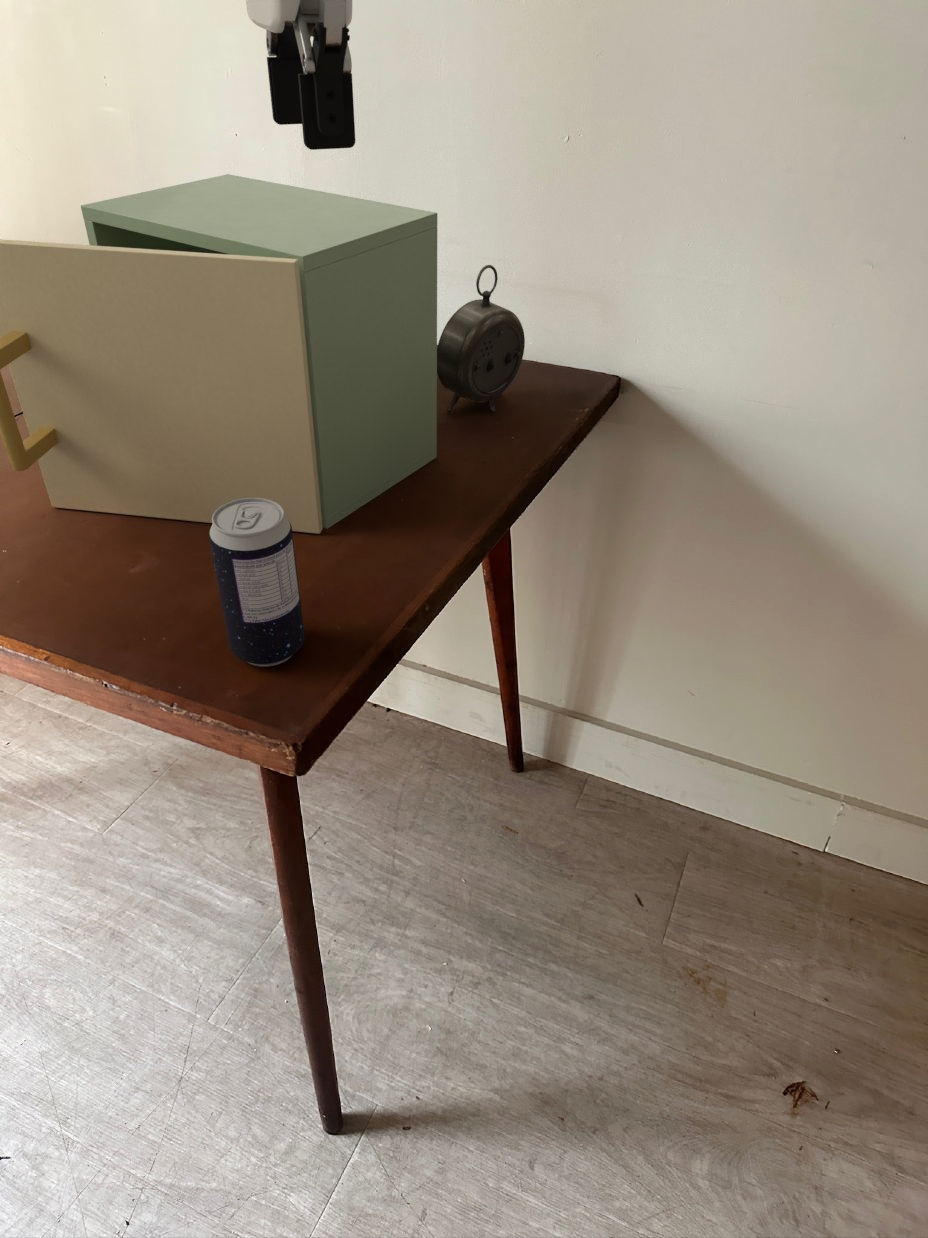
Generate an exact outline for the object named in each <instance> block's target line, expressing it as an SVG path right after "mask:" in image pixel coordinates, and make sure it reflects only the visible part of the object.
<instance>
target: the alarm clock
mask: <svg viewBox="0 0 928 1238" xmlns="http://www.w3.org/2000/svg"><path fill="white" fill-rule="evenodd" d="M487 269H491V270H492V271H493V275H494V282H493V286H492V288H491V289H490V291H489V290H483V292H481V290H480V280H481V277H482V275H483V273H484V271H485V270H487ZM475 283H476V291H477V294H478V295H479V296H481V297H482V298H481V299H480V298H479V299H474V300H471V301H469V302H467V303H465V304H463V305H462V306H461V307H459V308H458V309H457V310H456V311H455V312H454V313H453V314H452V316H451V317H450V318H449V319H448V321H447V322H446V324H445V326H444V328H443V330H442V332H441V335H440V337H439V340H438V342H437V378H438V380H439V382H440V383H441V385H442V386H443V387H444V388H445V390H448V391H449V392H451V393H453V396H452V398H451V401H450V404H449V407H447V408H446V413H448V414H451V413H452V411H453V408H454V407H455V406H456V404H457V403H458V402H459V399H460V398H463V399H465V400H467V401H468V402H472V403H478V404H480V403H481V404H482V403H487V402H488V404H489V408H490V411H492V412H494V413H495V412H496V406H495V399H496V398H497V397H499V396H500V395H502V394H503V392H505V391H506V390H507V389H508V388H509V386H510V385H511V384H512V382H513V381H514V379H515V377H516V376H517V374H518V372H519V369H520V367H521V364H522V361H523V357H524V354H525V347H526V346H525V344H526V340H525V339H526V338H525V330H524V328H523V324H522V322H521V320H520V319H519V317H518V316H517V315H516V314H515V313H514V312H513V311H512V310H510V309H507V308H505V307H503V306H500V305H498V304H496V303H494V302H491V301H490V298H491V296H492V294H493V293H494V291H495V289H496V287H497V284H498V271H497V269H496V268H495V266H493V265H492V264H486V265H485V266H483V267H482V268H480V270H479V272H478V274H477V277H476V282H475Z"/></svg>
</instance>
